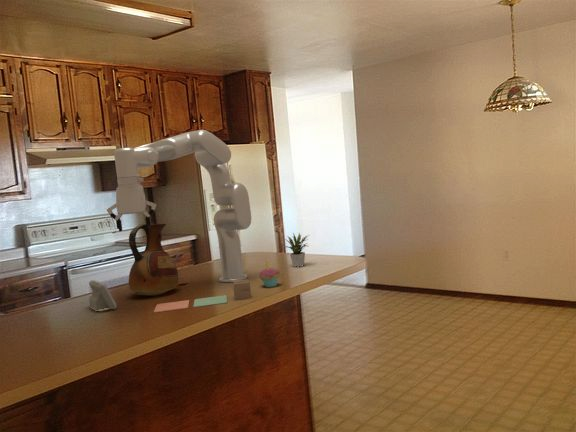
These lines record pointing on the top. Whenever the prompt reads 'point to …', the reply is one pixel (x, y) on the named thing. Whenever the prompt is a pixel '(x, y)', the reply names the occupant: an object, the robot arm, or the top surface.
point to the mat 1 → (171, 306)
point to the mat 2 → (210, 301)
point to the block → (242, 289)
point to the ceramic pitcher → (151, 264)
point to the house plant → (297, 250)
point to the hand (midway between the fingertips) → (134, 229)
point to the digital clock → (100, 296)
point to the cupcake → (269, 276)
